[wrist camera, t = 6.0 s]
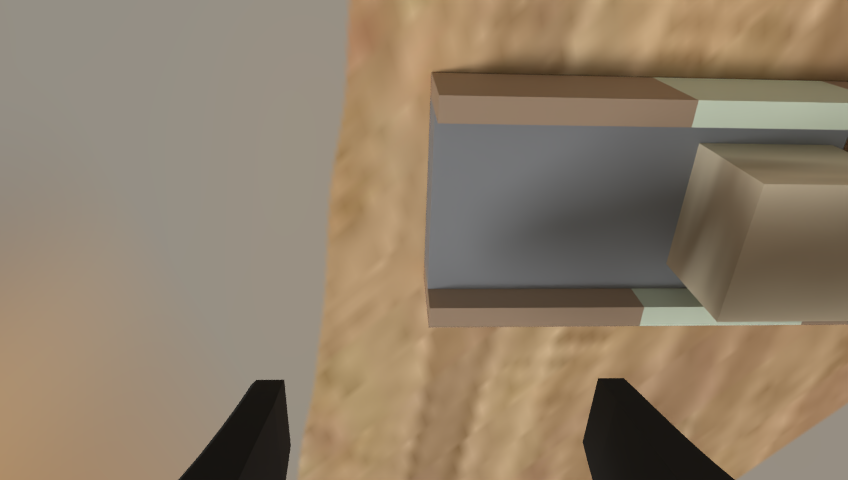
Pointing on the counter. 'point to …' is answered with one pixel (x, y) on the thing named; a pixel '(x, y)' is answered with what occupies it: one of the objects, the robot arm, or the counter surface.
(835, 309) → the maple block
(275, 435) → the robot arm
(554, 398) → the counter surface
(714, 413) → the counter surface
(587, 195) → the board
